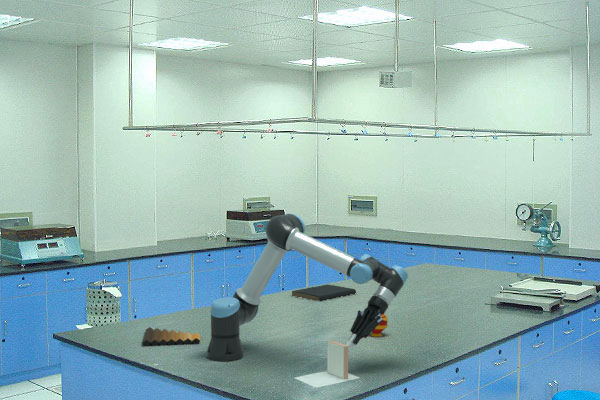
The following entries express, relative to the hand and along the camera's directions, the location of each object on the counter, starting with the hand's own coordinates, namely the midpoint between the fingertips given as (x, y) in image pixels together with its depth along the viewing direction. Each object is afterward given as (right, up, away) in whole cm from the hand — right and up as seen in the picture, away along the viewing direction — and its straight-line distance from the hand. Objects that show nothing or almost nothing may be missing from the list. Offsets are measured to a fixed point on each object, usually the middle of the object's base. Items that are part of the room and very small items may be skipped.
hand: (347, 350), depth 254 cm
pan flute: (-76, -8, +57) cm, 95 cm away
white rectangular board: (-8, -10, -5) cm, 13 cm away
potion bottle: (+18, -7, +61) cm, 64 cm away
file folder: (-3, -3, +164) cm, 164 cm away
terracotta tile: (-4, -9, -2) cm, 10 cm away
